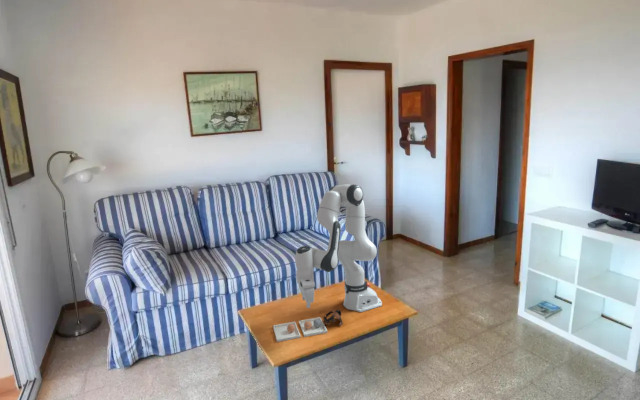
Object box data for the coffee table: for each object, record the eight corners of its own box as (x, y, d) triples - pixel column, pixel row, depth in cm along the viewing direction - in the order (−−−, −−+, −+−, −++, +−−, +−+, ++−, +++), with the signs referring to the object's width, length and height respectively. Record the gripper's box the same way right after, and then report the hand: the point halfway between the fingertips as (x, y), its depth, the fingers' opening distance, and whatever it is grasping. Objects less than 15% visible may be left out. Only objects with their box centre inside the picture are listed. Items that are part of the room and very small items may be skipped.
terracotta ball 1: (294, 328, 203) (293, 321, 202) (295, 332, 199) (295, 325, 198) (286, 330, 202) (286, 323, 201) (288, 334, 198) (287, 327, 197)
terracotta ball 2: (310, 325, 205) (310, 319, 204) (312, 329, 201) (312, 322, 200) (303, 327, 204) (303, 320, 203) (305, 331, 200) (304, 324, 199)
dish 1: (295, 324, 208) (295, 321, 207) (300, 338, 195) (300, 335, 194) (273, 328, 205) (272, 325, 205) (277, 343, 192) (276, 339, 191)
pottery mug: (340, 331, 200) (331, 319, 199) (327, 334, 206) (318, 322, 205) (348, 315, 210) (340, 303, 208) (335, 318, 215) (327, 307, 214)
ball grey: (320, 324, 206) (319, 317, 205) (322, 328, 202) (321, 321, 201) (312, 325, 205) (312, 318, 204) (314, 329, 201) (314, 322, 200)
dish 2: (320, 320, 211) (320, 317, 211) (327, 333, 198) (327, 330, 198) (298, 323, 208) (298, 320, 208) (304, 337, 195) (304, 334, 195)
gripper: (295, 271, 205) (296, 295, 208) (303, 287, 186) (304, 313, 189) (306, 270, 207) (307, 293, 210) (315, 285, 187) (317, 311, 190)
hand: (306, 303), depth 199 cm, fingers open, 8 cm apart
